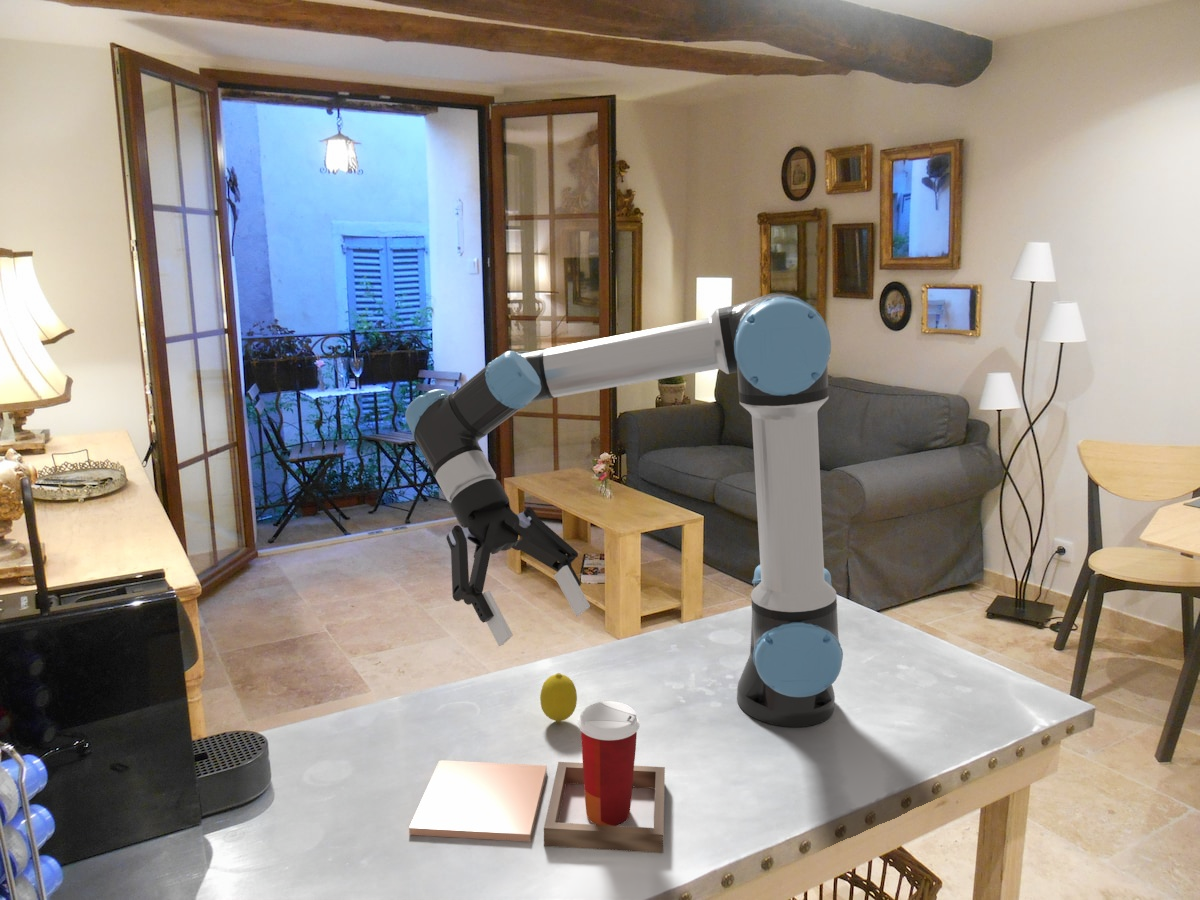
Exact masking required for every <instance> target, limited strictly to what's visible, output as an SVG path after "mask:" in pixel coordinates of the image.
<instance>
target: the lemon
mask: <svg viewBox="0 0 1200 900" xmlns="http://www.w3.org/2000/svg"><path fill="white" fill-rule="evenodd" d="M577 694H578V693H577V689H576V686H575V684H574V682H573V680H572V679H571V678H570V677H568V676H567V675H565V674H562V673H559V672H558V673H555V674H553V675H550V676H549V677H548V678H547V679H545V681H544V682H543V684H542V687H541V690H540V697H539V699H540V707H541V710H542V712H543V714H544V715H545V716H546V717H547V718H548V719H550V720H551V721H552V720H553V721H555V722H556V723H561V722H562V721H564V720H567V719H569V718H570V717H571V716H572V715H573V713H574V712H575V710H576V708H577V703H578V695H577Z"/></svg>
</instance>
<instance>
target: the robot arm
mask: <svg viewBox="0 0 1200 900" xmlns="http://www.w3.org/2000/svg"><path fill="white" fill-rule="evenodd" d="M831 341H832V340H831V336H830V331H829V328H828V325H827V324H826V322H825V320H824V318H823V316H822V315H821V313H820V312H818V311H817V310H816V309H815V308H814V307H813V306H812V305H811V304H809V303H808V302H807V301H805V300H804V299H802V298H801V297H799V296H797V295H793V294H791V293H786V292H785V293H784V292H773V293H772V292H771V293H769V294H765V295H763V296H759V297H756V298H754V299H750V300H749V301H746V302H744V301H743V302H742V303H738V304H734V305H730V306H726V307H725V306H724V307H721V308H716V309H715V310H714V311H713V312H712V314H711V316H710V317H705V318H699V319H695V320H691V321H690V320H689V321H685V322H680V323H675V324H670V325H669V324H668V325H663V326H659V327H652V328H648V329H642V330H638V331H632V332H631V331H630V332H627V333H621V334H617V335H612V336H607V337H601V338H594V339H590V340H585V341H584V340H583V341H579V342H575V343H569V344H564V345H558V346H553V347H546V348H545V349H540V350H538V349H537V350H534V351H524V350H523V351H514V350H507V351H504V352H503V353H502V354H501V355H499V356H497V357H496V358H495V359H492V360H491V361H490V362H488V363H487V365H486V366H484V367H483V368H482V369H481V370H480V371H478V372H477V373H476V374H475V375H473V376H472V377H471V378H470V379H469V380H467V381H466V382H465V383H464V384H463V385H461V386H460V387H459V388H458V389H457V390H456V391H454V392H452V393H451V392H449V391H448V390H445V389H443V388H442V389H441V388H438V389H437V388H436V389H432V390H429V391H427V392H425V393H424V394H421V395H420V394H419V395H418V396H417V397H416V398H414V399H413V400H412V401H411V402H410V403H409V405H408V406H407V408H406V410H405V415H404V417H405V421H406V423H407V426H408V428H409V430H410V433H411V434H412V438H413V441H414V442H415V444H416V445H417V447H419V450H420V452H421V453H422V455H423V458H424V459H425V460H426V462H427V464H428V466H429V468H430V470H431V471H432V473H433V476H434V478H435V480H436V482H437V484H438V485H439V488H440V490H441V491H442V494H443V495H444V497H445V499H446V501H447V502H449V503H450V508H451V510H452V513H453V514H454V516H455V518H456V521H457V522H458V524H459V525H458V524H456V525H454V526H453V527H452V529H451V530H450V531H449V532H448V534H447V535H446V541H447V544H448V545H449V548H450V561H451V562H450V563H451V565H450V566H451V587H452V588H451V590H452V598H453V601H455V602H460V601H462V600H463V602H464V604H466V605H468V606H470V605H472V607H473V609H474V611H475V613H476V615H477V616H478V619H479V620H480V621H481V622H482V623H486V624H487V626H488V628H489V630H490V633H491V634H492V636H493V638H494V640H495V641H496V644H497V645H498V647H501V646H504V645H505V644H506V643H507V642H508V641H509V640H510V639H511V638H513V636H514V634H513V632H512V630H511V628H510V626H509V625H508V623H507V621H506V619H505V617H504V615H503V614H502V611H501V609H500V608H499V607H500V606H498V604H497V602H496V600H495V598H494V596H493V595H492V592H491V591H490V590H486V591H484V586H485V582H486V577H487V571H488V568H489V567H488V566H489V562H490V557H491V555H494V554H495V555H496V554H497V553H499V552H501V551H502V552H503V551H505V552H506V551H508V550H511V549H513V550H516V551H522V552H523V553H525V554H527V555H528V556H530V557H532V558H533V559H535V560H536V561H538V562H540V563H542V564H543V565H545V566H547V567H548V568H550V569H552V570H554V571H556V573H555V574H554V575H553V577H554V579H555V581H556V582H557V583H558V586H559V587H560V589H561V591H562V593H563V595H564V597H565V599H566V600H567V602H568V604H569V606H570V608H571V609H572V611H573V613H574V615H575V617H578V616H582V614H583V613H585V611H587V610H588V609H589V608H590V607H591V605H590V603H589V601H588V599H587V597H586V596H585V594H584V592H583V591H582V588H581V586H582V584H581V580H580V579H579V577H578V575H577V573H576V572H575V570H574V568H573V567H572V563H573V562H574V560H575V559H576V558H578V556H579V553H578V551H577V550H576V549H574V548H573V547H572V546H571V545H570V544H569V543H568V542H566V541H565V540H564V539H563V538H562V537H561V536H559V534H557V533H556V532H555V531H554V530H553V529H551V527H549V526H548V525H547V524H546V523H545V522H543V521H542V520H541V519H540V517H539V516H538V514H536V511H534V509H533V508H532V507H530V506H527V507H526V508H525V509H524V510H523V511H522V512H520V513H517V514H516V513H515V512H514V511H513V510H512V508H511V504H510V499H509V497H508V495H507V492H506V491H505V489H504V487H503V486H502V484H501V482H500V481H499V480H498V479H496V478H497V473H495V472H496V471H494V469H493V468H492V466H491V464H490V462H489V460H488V458H487V457H486V455H485V453H484V451H483V450H482V447H481V445H480V444H479V441H480V440H481V439H482V438H485V437H486V436H487V435H489V433H490V432H492V431H493V430H494V429H496V428H497V427H499V426H500V425H501V424H502V423H504V422H505V421H506V420H508V419H509V418H510V417H512V416H513V415H515V414H516V413H517V412H518V411H520V410H521V409H525V407H527V406H528V405H529V404H530V403H534V402H540V401H545V400H546V401H547V400H550V399H555V398H560V397H566V396H570V395H576V394H582V393H587V392H593V391H601V390H605V389H610V388H617V387H621V386H627V385H635V384H640V383H646V382H652V381H656V380H663V379H667V378H669V379H670V378H674V377H680V376H685V375H690V374H697V373H702V372H708V371H715V370H721V371H722V372H723V373H725V374H726V375H731V374H736V373H737V385H738V401H739V405H740V406H741V407H742V408H743V409H745V410H746V411H747V412H749V414H750V415H751V425H752V443H753V444H752V446H753V461H754V462H753V464H754V480H755V481H754V482H755V496H756V497H755V499H756V513H757V528H758V529H757V531H758V532H757V533H758V534H757V535H758V547H759V549H758V550H759V563H760V564H758V565H757V566H756V567H755V569H754V574H753V579H752V582H751V584H753V585H752V587H753V589H752V590H751V593H750V596H751V597H750V598H751V625H750V626H751V631H750V649H749V651H750V652H749V656H748V659H747V660H746V663H745V665H744V669H743V671H742V673H741V675H740V678H739V681H738V682H737V689H736V691H737V692H736V702H737V705H738V707H739V708H740V709H741V710H742V711H743V712H744V713H746V714H747V715H748V716H750V717H752V718H754V719H755V720H757V721H761V722H762V723H763V722H764V723H766V724H770V725H775V726H781V727H791V728H797V727H798V728H800V727H801V728H803V727H809V726H815V725H818V724H821V723H823V722H825V721H827V720H828V719H830V718H831V716H832V715H833V713H834V710H835V700H836V698H835V697H836V696H835V692H834V687H833V684H834V683H835V681H836V680H837V678H838V677H839V676H840V673H841V670H842V665H843V657H844V654H843V653H844V652H843V648H842V646H841V643H840V639H839V626H838V625H839V624H838V622H839V621H838V603H837V599H838V598H837V597H838V596H837V591H836V589H835V588H834V587H833V584H832V574H831V572H830V571H829V570H828V569H827V568H825V560H824V559H825V558H824V539H823V538H824V537H823V513H822V491H821V490H822V489H821V469H820V468H821V467H820V445H819V443H820V442H819V439H820V438H819V424H818V423H819V421H818V420H819V419H818V411H819V410H820V408H821V407H822V406H823V405H824V404H825V403H826V402H827V401H828V400H829V399H830V398H829V396H830V395H829V375H828V373H829V371H828V370H829V368H828V367H829V366H828V364H829V360H830V354H831V351H832V350H831V349H832V342H831ZM468 540H469V541H470V542H472V543H473V544H475V549H474V554H473V563H472V568H471V573H470V572H469V557H468V553H469V552H468ZM469 573H470V574H469ZM469 575H470V577H469ZM483 591H484V593H483Z"/></svg>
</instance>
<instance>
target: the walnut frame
mask: <svg viewBox="0 0 1200 900" xmlns="http://www.w3.org/2000/svg"><path fill="white" fill-rule="evenodd" d="M556 767H557V768H556V771H555V776H554V780H553V781H554V782H553V784H552V790H551V794H550V799H549V803H548V808H547V812H546V817H545V821H544V825H543V846H544V847H553V848H567V849H568V848H570V849H589V850H600V851H601V850H605V851H621V852H625V851H626V852H638V853H654V854H655V853H656V854H663V853H664V835H665V834H664V831H665V830H664V825H665V823H664V822H665V819H664V818H665V785H666V784H665V779H666V778H665V775H666V774H665V773H666V772H665V771H666V766H648V765H634V771H633V784H632V788H640V789H641V788H642V789H643V788H644V789H654V809H653V810H654V811H653V827H645V826H644V827H642V826H629V825H627V826H626V825H625V826H624V825H618V826H610V825H596V824H593V823H592V824H589V823H588V824H587V823H571V822H570V823H569V822H560V817H561V812H562V806H563V801H564V797H565V792H566V787H567V785H581V786H582V785H583V786H584V774H583V762H573V761H572V762H570V761H558V763H557V766H556Z"/></svg>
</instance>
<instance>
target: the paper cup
mask: <svg viewBox="0 0 1200 900" xmlns="http://www.w3.org/2000/svg"><path fill="white" fill-rule="evenodd" d="M576 723H577V726H578V729H579V730H580V738H581V752H582V753H581V754H582V763H583V774H584V785H583V786H584V787H583V788H584V789H583V790H584V803H585V812H586V817H587V819H588V820H589V821H590V822H591V823H592V824H593V825H610V826H621V825H622V824H624V823H625V822H626V821H627V820H629V816H630V812H631V805H632V804H631V803H632V795H633V794H632V793H633V787H632V784H633V771H634V766H635V760H636V758H635V757H636V749H637V733H638V730H639V729H640V724H641V723H640V720H639V719H638V717H637V713H636V711H635V710H634V709H633V708H632V707H631V706H629V705H627V704H625V703H622V702H619V701H613V700H612V701H609V700H606V701H605V700H604V701H599V702H596V703H595V702H594V703H592V704H590V705H588V706H587V707H585V709H584V710H583V711H582V712H581V713H580V715H579V717H578V719H577V722H576Z"/></svg>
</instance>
